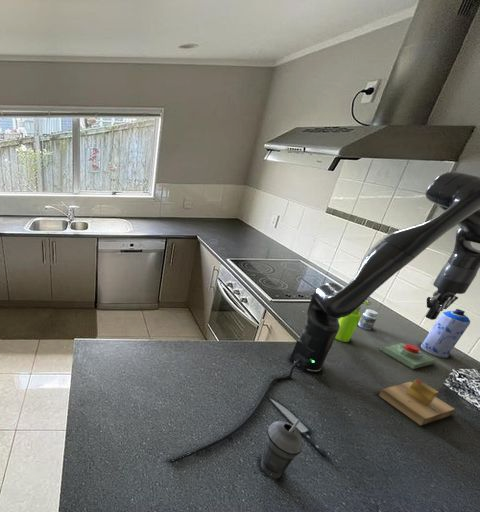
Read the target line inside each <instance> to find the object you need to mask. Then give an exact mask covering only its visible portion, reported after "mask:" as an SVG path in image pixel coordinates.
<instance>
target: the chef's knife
mask: <svg viewBox="0 0 480 512" xmlns="http://www.w3.org/2000/svg"><path fill="white" fill-rule="evenodd" d="M268 399H269V400H270V401H271V403H272V404H273V405H274V406H275V407H276V408H277V409H278V410H279V411H280V412H281V413H282V415H284V417H285V418H286V419H287V420H288V421H289V423H290V424H291V425H294V423H295V422H296V421H297V419H298V418H297V417H296V416H295V415H294V414H293V413H292V412H291V411H290V410H289V409H287V408H286V407H284V406H283V405H281V403H279V402H277V401H276V400H274V399H272V398H270V397H268ZM295 428H296V429H297V430H298V431H299V433H300V434H301V435H302V436H303V437H304V438H305V439H306V440H307V441H308V442H309V443H310V444H311V445H312V446H313V447H314V448H315V449H316V450H317V452H319V454H320V455H321V456H323V457H327V454H326V452H325V451H324V450H323V449H322V448H321V447H320V446H319V445H318V444H317V443H316V442H315V441H314V440H313V439H312V438H311V437H310V435H309V434H308V433H307V432H309V429H308V428H307V427H306V426H305V425H304V424H303V423H302V422H301V421H300V422H299V423H298V424H297V426H296V427H295Z"/></svg>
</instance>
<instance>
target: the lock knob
mask: <svg viewBox="0 0 480 512" xmlns="http://www.w3.org/2000/svg"><path fill="white" fill-rule="evenodd" d="M407 394H409V395H410V396H412V397H413V398H415V399H417V400H418V401H420V402H421V403H423V404H424V405H426V406H427V405H430V404H431V402H432V401H433V399H434V398H435V397H437V395H438V394H439V391H438V390H436V389H434V388H433V387H431V386H429V385H428V384H426V383H425V382H423V380H421V379H415V380H413V383H412V385H411V386H410V388H409V389H408V391H407Z"/></svg>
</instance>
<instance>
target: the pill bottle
mask: <svg viewBox="0 0 480 512" xmlns="http://www.w3.org/2000/svg"><path fill="white" fill-rule="evenodd" d="M378 315H379V313H378V312H377V311H376V310H373V309H370V308H367V309H366V310H365V311H364V312H363V313H362V314H361V318H360V320H359V322H358V324H357V326H358V327H360V328H361V329H364V330H372V328H373V326H374V324H375V322H376V321H377V318H378Z"/></svg>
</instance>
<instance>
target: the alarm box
mask: <svg viewBox="0 0 480 512" xmlns="http://www.w3.org/2000/svg"><path fill="white" fill-rule="evenodd" d="M406 344H407V343H406ZM406 344H405V343H404V342H402V343H401V342H400V343H396V344H392V345H387V346H384V347H383V349H382V352H383V353H385V354H386V355H388V356H390V357H392V358H394V359H395V360H397V361H398V362H400V363H402V364H404V365H405V366H407V367H409V368H410V369H412V370H416V369H419V368H423V367H427V366H430V365H433V363H434V362H435V359H434V358H432V357H430V356H428V355H427V354H424V353H423V352H422V351H421V350H420V349H419V351H418V353H412V352H409V351H407V350H406V349H405V346H406Z"/></svg>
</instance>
